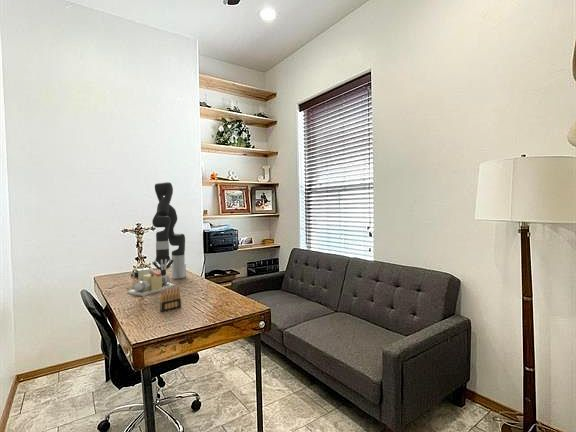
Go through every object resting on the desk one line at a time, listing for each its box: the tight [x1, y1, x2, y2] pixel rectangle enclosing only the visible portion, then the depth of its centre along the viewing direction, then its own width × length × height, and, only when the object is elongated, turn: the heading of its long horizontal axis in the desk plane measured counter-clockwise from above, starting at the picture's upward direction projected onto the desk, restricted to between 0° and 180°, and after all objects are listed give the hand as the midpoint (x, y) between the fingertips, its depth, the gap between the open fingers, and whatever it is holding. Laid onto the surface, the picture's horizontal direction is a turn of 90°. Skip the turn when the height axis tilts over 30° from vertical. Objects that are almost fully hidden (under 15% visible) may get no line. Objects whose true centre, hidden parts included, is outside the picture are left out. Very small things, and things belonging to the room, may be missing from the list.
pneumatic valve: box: [132, 266, 153, 282], centre depth 220 cm, size 6×12×12 cm, turn 131°
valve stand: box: [126, 273, 177, 297], centre depth 207 cm, size 26×14×11 cm, turn 152°
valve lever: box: [150, 269, 161, 277], centre depth 202 cm, size 16×3×2 cm, turn 39°
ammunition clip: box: [159, 285, 182, 313], centre depth 167 cm, size 11×2×12 cm, turn 135°
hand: (163, 275), depth 199 cm, fingers closed
